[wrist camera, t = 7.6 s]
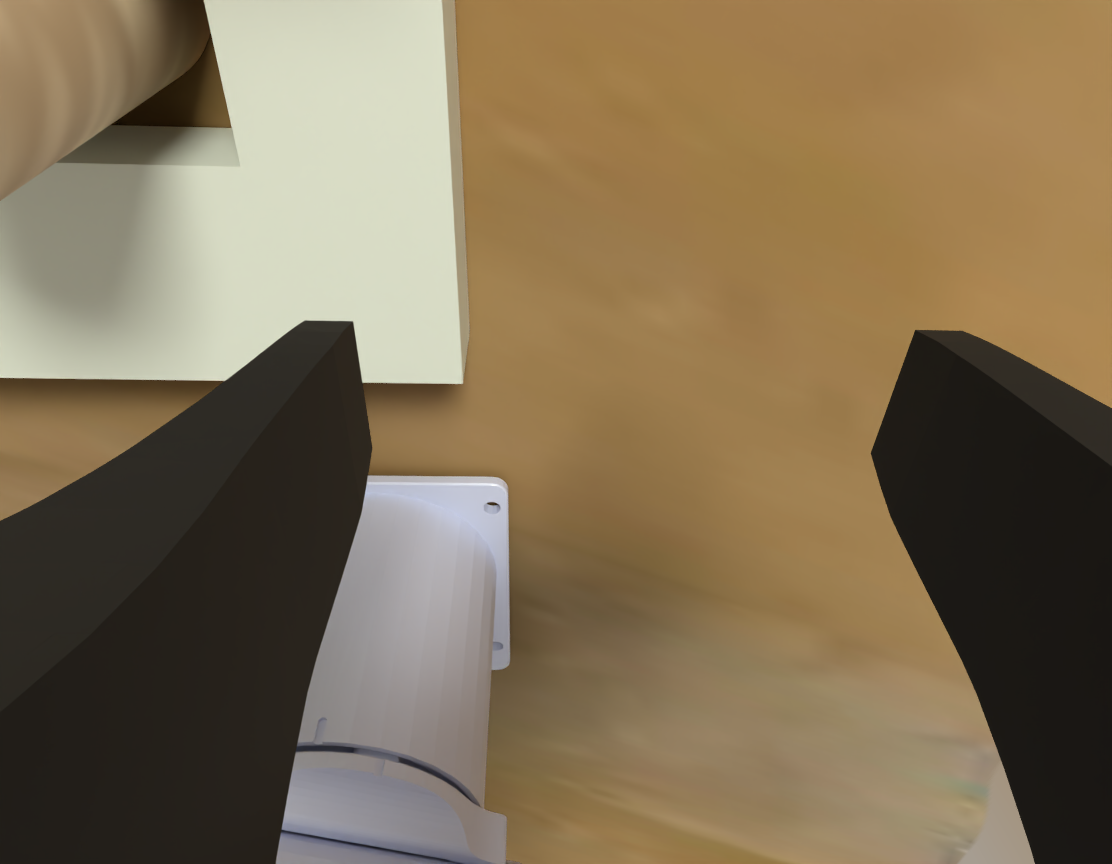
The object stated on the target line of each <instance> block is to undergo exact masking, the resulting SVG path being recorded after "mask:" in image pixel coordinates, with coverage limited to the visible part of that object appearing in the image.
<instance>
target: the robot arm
mask: <svg viewBox="0 0 1112 864" xmlns="http://www.w3.org/2000/svg"><path fill="white" fill-rule="evenodd" d="M371 453H372V443H371V436H370V430H369V423H368V416H367V410H366V403H365V397H364V390H363V383H362V377H361V370H360V363H359V357H358V350H357V343H356V337H355V330H354V323H353V321H310V320H305V321H303V322H302V323H300V324H298V325H297V326H295V327H294V328H293V329H291V330H290V331H289V332H287V333H286V334H285V335H283V336H282V337H281V338H279V339H278V340H277V341H276V342H274V343H273V344H272V345H270V346H269V347H268V348H267V349H265V350H264V351H263V352H262V353H260V354H259V355H258V356H257V357H255V358H254V359H253V360H251V361H250V362H249V363H248V364H246V365H245V366H244V367H242V368H241V369H240V370H239V371H237V372H236V373H235V374H233V375H232V376H231V377H229V378H228V379H227V380H226V381H224V382H223V383H222V384H220V385H219V386H218V387H216V388H215V389H214V390H213V391H211V392H210V393H209V394H207V395H206V396H205V397H203V398H202V399H201V400H199V401H198V402H197V403H195V404H194V405H192V406H191V407H189V408H188V409H186V410H185V411H184V412H182V413H181V414H179V415H178V416H176V417H175V418H173V419H172V420H171V421H169V422H168V423H166V424H165V425H163V426H162V427H160V428H159V429H158V430H156V431H155V432H153V433H152V434H150V435H149V436H147V437H146V438H145V439H143V440H142V441H140V442H139V443H137V444H136V445H134V446H133V447H131V448H130V449H128V450H127V451H125V452H124V453H122V454H120V455H119V456H117V457H116V458H114V459H112V460H111V461H109V462H107V463H106V464H104V465H102V466H101V467H99V468H98V469H96V470H94V471H93V472H91V473H89V474H87V475H86V476H84V477H82V478H80V479H79V480H77V481H75V482H73V483H71V484H70V485H68V486H66V487H64V488H63V489H61V490H59V491H57V492H56V493H54V494H52V495H50V496H49V497H47V498H45V499H43V500H41V501H39V502H37V503H36V504H34V505H32V506H30V507H28V508H26V509H24V510H22V511H20V512H18V513H16V514H14V515H12V516H10V517H8V518H5V519H3V520H1V521H0V864H521V863H520V862H515V861H510V860H506V836H507V817H506V816H505V815H503V814H499V813H495V812H491V811H489V810H486V809H484V798H485V780H486V761H487V743H488V725H489V706H490V688H491V670H501V669H504V668H506V667H507V666H508V665H509V663H510V595H509V511H508V486H507V484H506V483H505V482H504V481H503V480H502V479H500V478H497V477H466V476H368V472H369V466H370V459H371ZM871 455H872V459H873V462H874V466H875V469H876V472H877V476H878V479H879V483H880V486H881V489H882V492H883V495H884V498H885V501H886V504H887V507H888V510H889V513H890V516H891V518H892V521H893V523H894V525H895V527H896V529H897V531H898V533H899V535H900V537H901V539H902V542H903V544H904V546H905V548H906V550H907V552H908V554H909V556H910V558H911V560H912V562H913V564H914V566H915V568H916V570H917V572H918V574H919V576H920V578H921V580H922V582H923V584H924V586H925V588H926V590H927V592H928V594H929V596H930V598H931V600H932V602H933V604H934V606H935V608H936V610H937V612H938V614H939V616H940V618H941V620H942V622H943V624H944V626H945V628H946V630H947V632H948V634H949V636H950V638H951V640H952V642H953V644H954V646H955V648H956V650H957V652H958V654H959V656H960V658H961V660H962V662H963V664H964V666H965V669H966V671H967V673H968V675H969V678H970V680H971V682H972V684H973V687H974V689H975V691H976V693H977V696H978V699H979V701H980V704H981V707H982V709H983V712H984V715H985V718H986V720H987V723H988V726H989V728H990V731H991V734H992V737H993V739H994V742H995V745H996V747H997V750H998V753H999V756H1000V758H1001V761H1002V764H1003V766H1004V769H1005V772H1006V775H1007V778H1008V781H1009V784H1010V787H1011V790H1012V793H1013V796H1014V799H1015V802H1016V806H1017V809H1018V811H1019V815H1020V818H1021V820H1022V824H1023V827H1024V830H1025V833H1026V835H1027V838H1028V841H1029V845H1030V848H1031V851H1032V854H1033V858H1034V862H1035V864H1112V408H1110V407H1108V406H1106V405H1105V404H1103V403H1101V402H1099V401H1097V400H1095V399H1094V398H1092V397H1090V396H1088V395H1086V394H1084V393H1083V392H1081V391H1079V390H1077V389H1075V388H1074V387H1072V386H1070V385H1068V384H1066V383H1065V382H1063V381H1061V380H1059V379H1057V378H1055V377H1054V376H1052V375H1050V374H1048V373H1046V372H1045V371H1043V370H1041V369H1039V368H1037V367H1035V366H1034V365H1032V364H1030V363H1028V362H1026V361H1024V360H1023V359H1021V358H1019V357H1017V356H1015V355H1013V354H1011V353H1009V352H1007V351H1005V350H1003V349H1002V348H1000V347H998V346H996V345H993V344H991V343H989V342H987V341H985V340H983V339H981V338H978V337H976V336H974V335H971V334H969V333H966V332H964V331H938V330H915V332H914V335H913V338H912V341H911V343H910V346H909V349H908V352H907V355H906V357H905V360H904V363H903V366H902V368H901V371H900V374H899V377H898V379H897V382H896V385H895V388H894V390H893V393H892V396H891V399H890V402H889V404H888V407H887V410H886V413H885V415H884V418H883V421H882V424H881V426H880V429H879V432H878V435H877V438H876V440H875V443H874V446H873V449H872V451H871ZM488 502H495V503H497V504H498V505H494V506H492V505H488V504H487V503H488Z"/></svg>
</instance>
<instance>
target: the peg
mask: <svg viewBox="0 0 1112 864" xmlns="http://www.w3.org/2000/svg"><path fill="white" fill-rule="evenodd" d="M209 35H210V26H209V22H208V17H207V13H206V8H205V4H204V0H0V201H1V200H3V199H4V198H5V197H7V196H8V195H10V194H11V193H13V192H14V191H16V190H17V189H18V188H20V187H21V186H23V185H24V184H26V183H27V182H29V181H30V180H31V179H33V178H34V177H36V176H37V175H39V174H40V173H42V172H43V171H44V170H46V169H47V168H49V167H50V166H52V165H53V164H55V163H56V162H57V161H59V160H60V159H62V158H63V157H65V156H66V155H68V154H69V153H70V152H72V151H73V150H75V149H76V148H78V147H79V146H81V145H82V144H83V143H85V142H86V141H88V140H89V139H91V138H92V137H94V136H95V135H96V134H98V133H99V132H101V131H102V130H104V129H105V128H107V127H108V126H109V125H111V124H112V123H114V122H115V121H117V120H118V119H120V118H121V117H122V116H124V115H125V114H127V113H128V112H130V111H131V110H133V109H134V108H135V107H137V106H138V105H140V104H141V103H143V102H144V101H146V100H147V99H148V98H150V97H151V96H153V95H154V94H156V93H157V92H159V91H160V90H161V89H163V88H164V87H166V86H167V85H169V84H170V83H172V82H173V81H174V80H176V79H177V78H179V77H180V76H182V75H183V74H184V73H185V72H187V71H188V70H189V69H190V68H191V67H192V66H193V65H194V64H195V63H196V62H197V60H198V59H199V58H200V56H201V54H202V53H203V51H204V49H205V47H206V44H207V42H208V39H209Z"/></svg>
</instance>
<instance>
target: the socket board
mask: <svg viewBox="0 0 1112 864" xmlns="http://www.w3.org/2000/svg"><path fill="white" fill-rule="evenodd" d="M204 4H205V8H206V13H207V17H208V22H209V26H210V31H211V35H212V40H213V44H214V49H215V53H216V58H217V63H218V67H219V72H220V76H221V81H222V85H223V90H224V94H225V99H226V103H227V108H228V112H229V117H230V121H231V126H232V128H210V127H168V126H126V125H109V126H108V127H107V128H105V129H104V130H102V131H101V132H99V133H98V134H96V135H95V136H94V137H92V138H91V139H89V140H88V141H86V142H85V143H83V144H82V145H81V146H79V147H78V148H76V149H75V150H73V151H72V152H70V153H69V154H68V155H66V156H65V157H63V158H62V159H60V160H59V161H57V162H56V163H55V164H53V165H52V166H50V167H49V168H47V169H46V170H44V171H43V172H42V173H40V174H39V175H37V176H36V177H34V178H33V179H31V180H30V181H29V182H27V183H26V184H24V185H23V186H21V187H20V188H18V189H17V190H16V191H14V192H13V193H11V194H10V195H8V196H7V197H5V198H4V199H3V200H1V201H0V378H54V379H130V380H205V381H226V380H227V379H228V378H229V377H231V376H232V375H233V374H235V373H236V372H237V371H239V370H240V369H241V368H242V367H244V366H245V365H246V364H248V363H249V362H250V361H251V360H253V359H254V358H255V357H257V356H258V355H259V354H260V353H262V352H263V351H264V350H265V349H267V348H268V347H269V346H270V345H272V344H273V343H274V342H276V341H277V340H278V339H279V338H281V337H282V336H283V335H285V334H286V333H287V332H289V331H290V330H291V329H293V328H294V327H295V326H297V325H298V324H300V323H302V322H303V321H305V320H310V321H353V323H354V330H355V337H356V343H357V350H358V357H359V363H360V370H361V377H362V383H430V384H463V379H464V371H465V364H466V357H467V349H468V342H469V334H470V325H469V303H468V281H467V259H466V237H465V214H464V192H463V170H462V148H461V126H460V104H459V82H458V60H457V38H456V16H455V0H204Z"/></svg>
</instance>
